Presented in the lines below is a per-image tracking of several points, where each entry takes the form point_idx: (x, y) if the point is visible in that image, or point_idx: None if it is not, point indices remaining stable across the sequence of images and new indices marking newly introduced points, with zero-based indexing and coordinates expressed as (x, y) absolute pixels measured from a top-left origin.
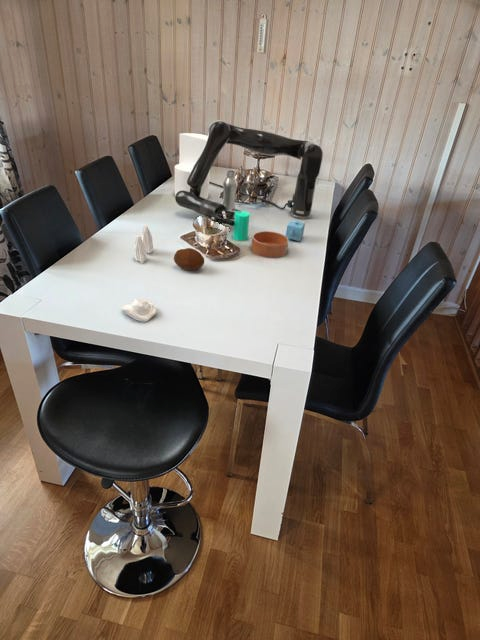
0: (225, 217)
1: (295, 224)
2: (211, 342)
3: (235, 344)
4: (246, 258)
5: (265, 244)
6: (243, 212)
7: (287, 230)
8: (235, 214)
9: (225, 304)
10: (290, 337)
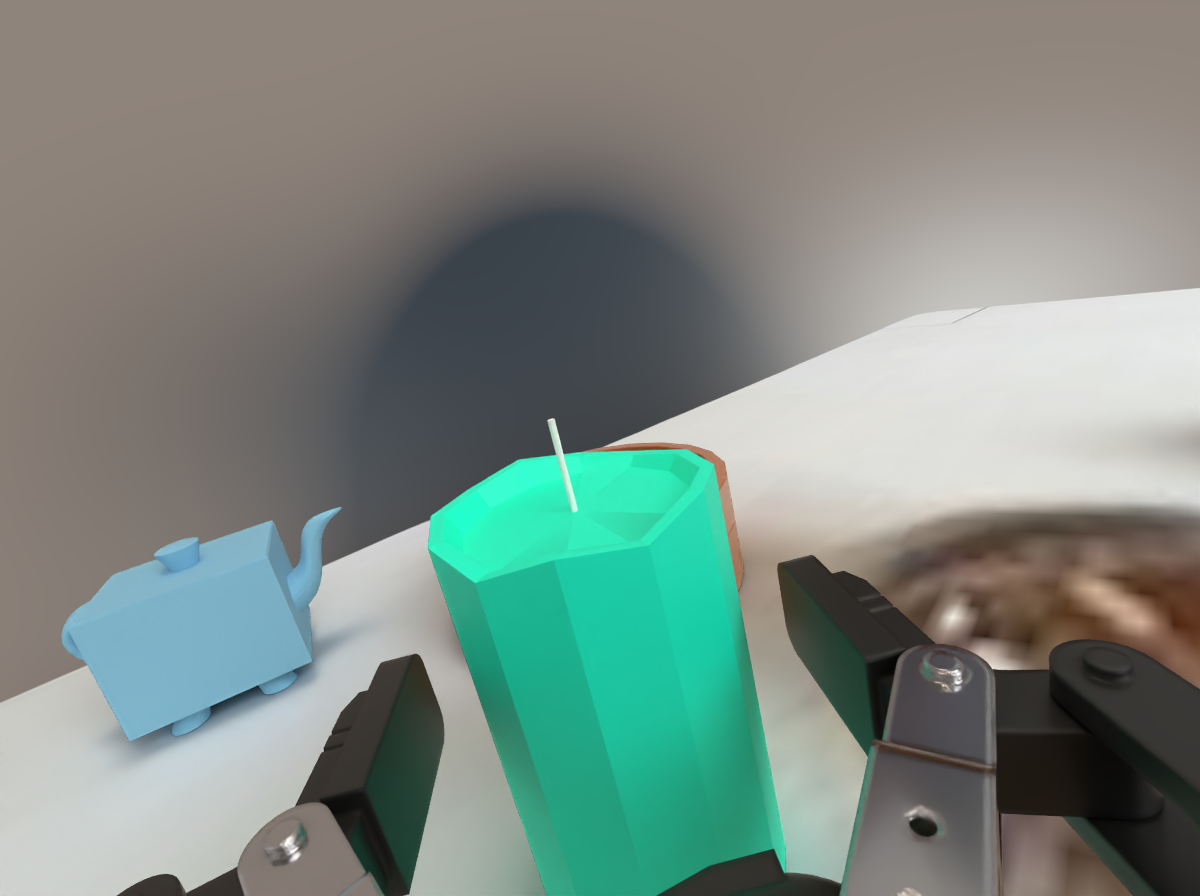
0: (935, 668)
1: (203, 560)
2: (1163, 298)
3: (1079, 307)
4: (853, 525)
5: (693, 447)
6: (464, 557)
7: (285, 595)
8: (709, 493)
9: (1101, 349)
10: (908, 333)
